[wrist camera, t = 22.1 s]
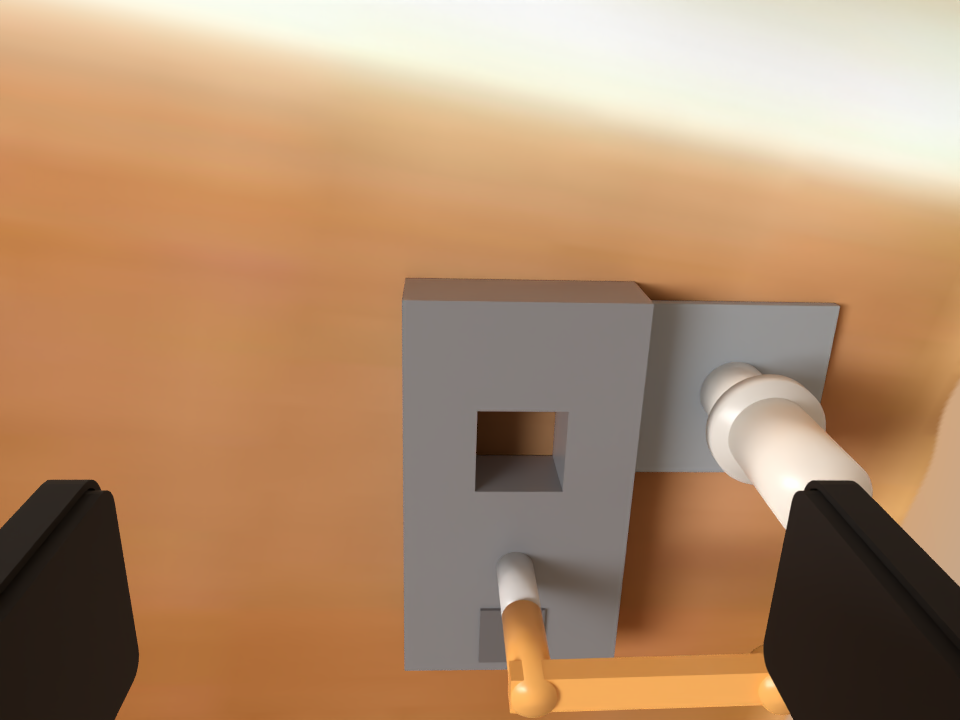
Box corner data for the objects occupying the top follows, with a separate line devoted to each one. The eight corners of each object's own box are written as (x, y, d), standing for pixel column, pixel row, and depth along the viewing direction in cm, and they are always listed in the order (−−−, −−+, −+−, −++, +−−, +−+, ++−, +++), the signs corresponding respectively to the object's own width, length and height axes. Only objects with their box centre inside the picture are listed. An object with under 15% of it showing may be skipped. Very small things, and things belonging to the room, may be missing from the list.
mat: (651, 300, 41) (654, 303, 41) (834, 302, 42) (840, 306, 41) (632, 466, 45) (635, 471, 44) (801, 467, 45) (806, 472, 45)
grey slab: (405, 278, 40) (397, 325, 33) (634, 281, 41) (675, 328, 34) (407, 623, 48) (401, 722, 41) (599, 621, 49) (626, 718, 42)
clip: (765, 591, 39) (815, 674, 33) (759, 627, 39) (807, 714, 34) (502, 598, 38) (511, 684, 33) (501, 634, 39) (511, 724, 34)
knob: (689, 343, 42) (769, 439, 31) (791, 345, 42) (905, 440, 32) (675, 437, 44) (748, 556, 33) (773, 438, 44) (875, 556, 34)
